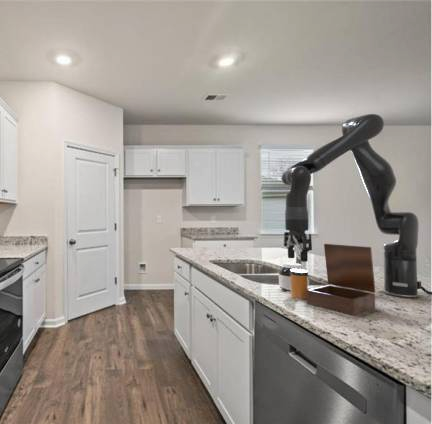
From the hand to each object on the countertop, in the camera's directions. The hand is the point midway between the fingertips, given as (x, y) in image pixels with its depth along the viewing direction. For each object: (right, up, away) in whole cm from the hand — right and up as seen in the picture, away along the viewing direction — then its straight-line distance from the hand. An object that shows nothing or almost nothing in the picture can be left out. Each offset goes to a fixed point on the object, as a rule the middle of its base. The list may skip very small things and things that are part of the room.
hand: (297, 259), depth 108 cm
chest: (+7, -15, -12) cm, 20 cm away
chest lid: (+12, -1, -9) cm, 15 cm away
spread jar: (+6, -15, +11) cm, 20 cm away
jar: (0, -15, -1) cm, 15 cm away
